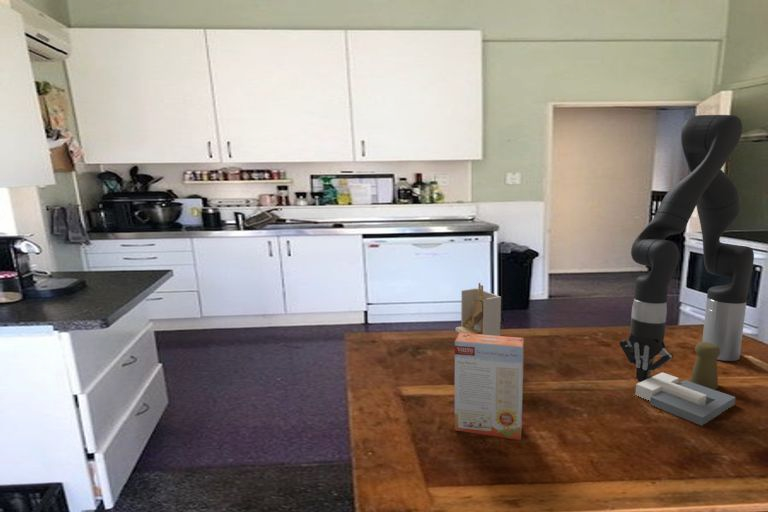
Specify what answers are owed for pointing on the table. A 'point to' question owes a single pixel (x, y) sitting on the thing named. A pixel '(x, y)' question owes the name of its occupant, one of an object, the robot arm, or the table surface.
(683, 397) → the t block
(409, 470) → the table surface
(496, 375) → the cracker box
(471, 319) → the beige open box
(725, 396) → the t bay
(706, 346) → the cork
